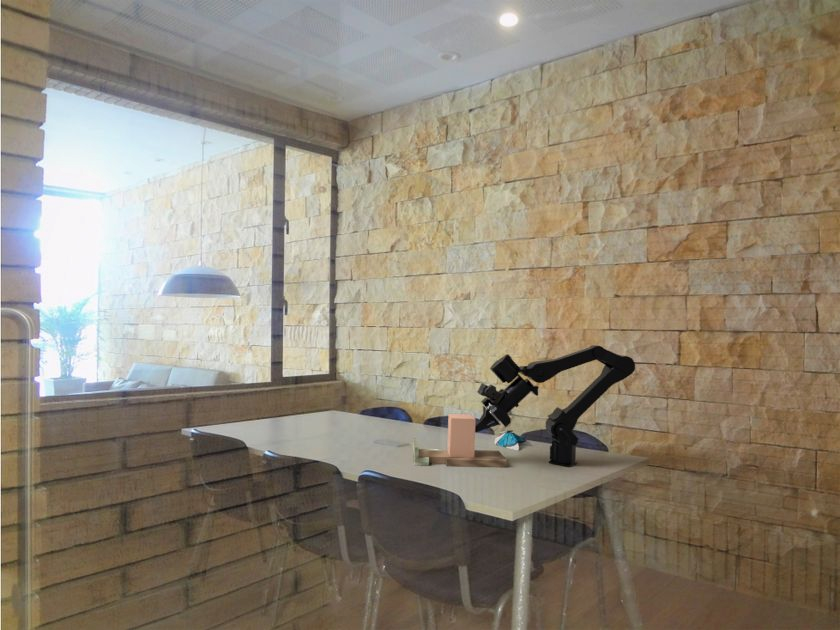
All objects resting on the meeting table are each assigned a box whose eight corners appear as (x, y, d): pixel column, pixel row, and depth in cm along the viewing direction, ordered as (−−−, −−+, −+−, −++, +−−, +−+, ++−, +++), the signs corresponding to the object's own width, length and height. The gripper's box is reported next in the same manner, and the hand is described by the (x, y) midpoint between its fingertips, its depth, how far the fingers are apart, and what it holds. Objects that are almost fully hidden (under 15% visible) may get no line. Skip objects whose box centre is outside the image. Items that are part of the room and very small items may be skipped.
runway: (498, 456, 175) (499, 440, 175) (506, 467, 163) (507, 449, 163) (412, 454, 173) (413, 438, 173) (414, 465, 161) (415, 447, 161)
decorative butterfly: (503, 430, 199) (529, 426, 193) (506, 448, 198) (532, 446, 192) (488, 434, 191) (514, 430, 185) (491, 453, 190) (518, 451, 184)
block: (470, 451, 172) (472, 414, 172) (474, 457, 165) (475, 418, 165) (447, 451, 171) (448, 414, 171) (449, 456, 164) (451, 418, 164)
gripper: (489, 371, 178) (452, 405, 177) (501, 377, 159) (459, 416, 159) (513, 397, 178) (476, 432, 178) (527, 407, 160) (486, 446, 159)
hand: (474, 431), depth 168 cm, fingers closed
